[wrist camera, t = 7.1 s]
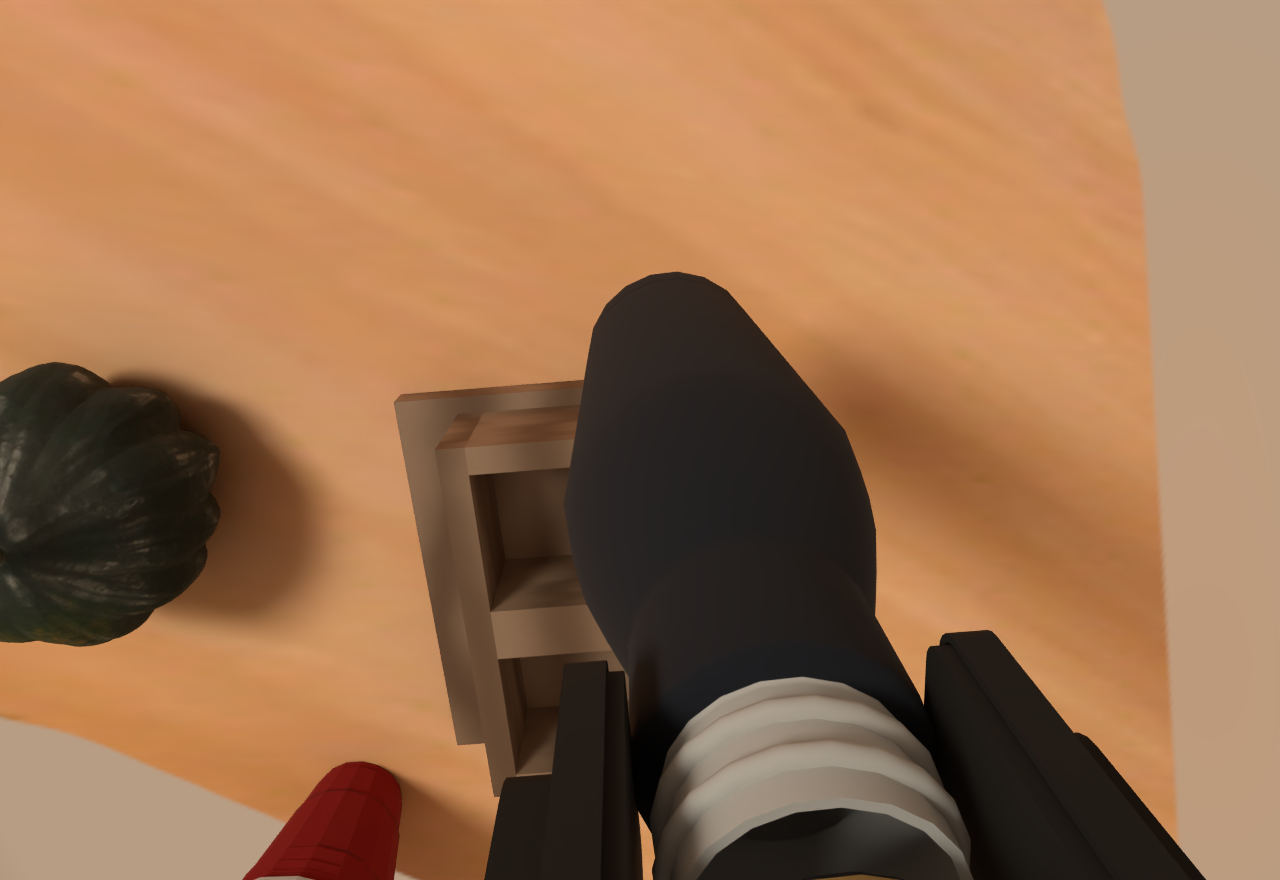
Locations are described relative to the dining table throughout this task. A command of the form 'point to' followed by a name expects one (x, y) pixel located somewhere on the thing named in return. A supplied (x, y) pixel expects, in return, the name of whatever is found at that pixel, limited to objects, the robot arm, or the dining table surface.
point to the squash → (96, 505)
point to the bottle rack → (501, 561)
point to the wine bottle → (745, 607)
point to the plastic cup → (339, 830)
